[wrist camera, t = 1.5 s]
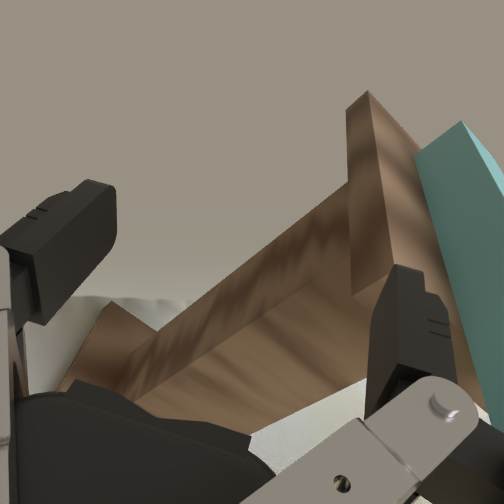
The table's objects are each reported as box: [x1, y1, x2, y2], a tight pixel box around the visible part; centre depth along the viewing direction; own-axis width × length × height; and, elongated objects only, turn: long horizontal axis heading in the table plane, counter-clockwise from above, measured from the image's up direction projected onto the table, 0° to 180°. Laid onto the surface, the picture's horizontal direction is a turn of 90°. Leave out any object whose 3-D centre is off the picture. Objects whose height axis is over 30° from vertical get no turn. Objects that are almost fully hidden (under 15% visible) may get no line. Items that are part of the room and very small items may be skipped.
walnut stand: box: [56, 90, 488, 435], centre depth 35 cm, size 20×16×32 cm
